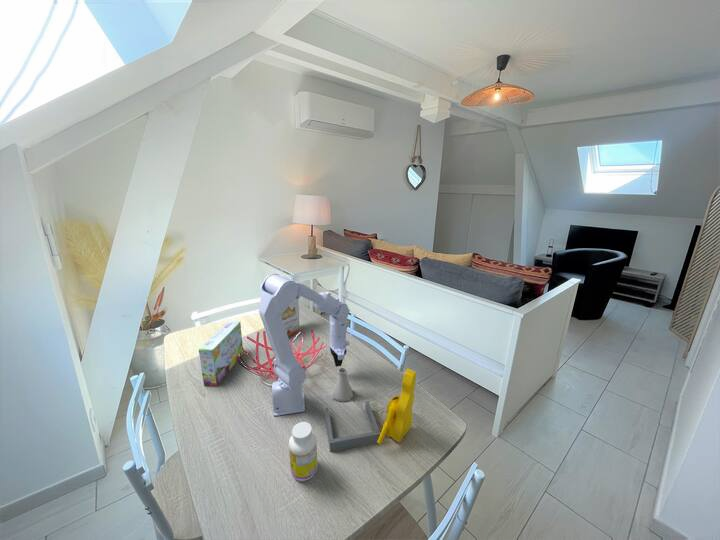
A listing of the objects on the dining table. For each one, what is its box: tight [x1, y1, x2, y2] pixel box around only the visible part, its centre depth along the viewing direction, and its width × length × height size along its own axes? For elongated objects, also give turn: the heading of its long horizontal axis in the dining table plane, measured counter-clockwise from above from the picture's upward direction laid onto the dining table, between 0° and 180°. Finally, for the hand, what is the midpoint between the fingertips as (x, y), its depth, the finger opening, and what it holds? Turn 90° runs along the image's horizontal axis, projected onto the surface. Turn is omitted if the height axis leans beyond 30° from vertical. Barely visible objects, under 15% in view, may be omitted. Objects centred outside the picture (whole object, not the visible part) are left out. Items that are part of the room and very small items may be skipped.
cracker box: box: [281, 298, 300, 337], centre depth 131 cm, size 14×6×21 cm, turn 142°
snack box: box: [198, 320, 244, 387], centre depth 108 cm, size 21×6×15 cm, turn 178°
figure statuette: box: [377, 368, 417, 445], centre depth 79 cm, size 18×8×22 cm, turn 147°
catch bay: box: [324, 400, 381, 452], centre depth 83 cm, size 14×12×3 cm
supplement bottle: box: [288, 421, 318, 482], centre depth 69 cm, size 7×7×13 cm
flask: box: [332, 366, 354, 403], centre depth 95 cm, size 7×7×10 cm
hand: (338, 365), depth 105 cm, fingers closed
